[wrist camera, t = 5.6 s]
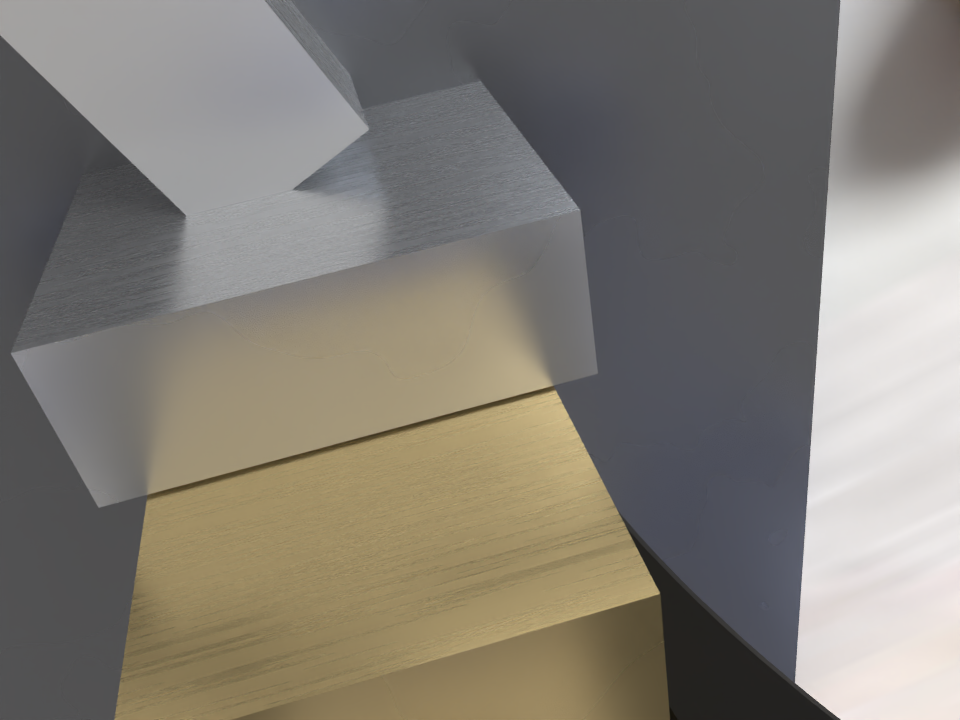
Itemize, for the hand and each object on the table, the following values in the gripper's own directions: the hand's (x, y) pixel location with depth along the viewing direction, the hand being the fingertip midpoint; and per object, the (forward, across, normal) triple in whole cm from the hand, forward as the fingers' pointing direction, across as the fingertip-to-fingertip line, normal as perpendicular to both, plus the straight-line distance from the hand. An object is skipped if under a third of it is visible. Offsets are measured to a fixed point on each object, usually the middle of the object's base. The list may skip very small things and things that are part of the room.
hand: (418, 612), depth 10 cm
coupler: (+2, 0, -1) cm, 2 cm away
